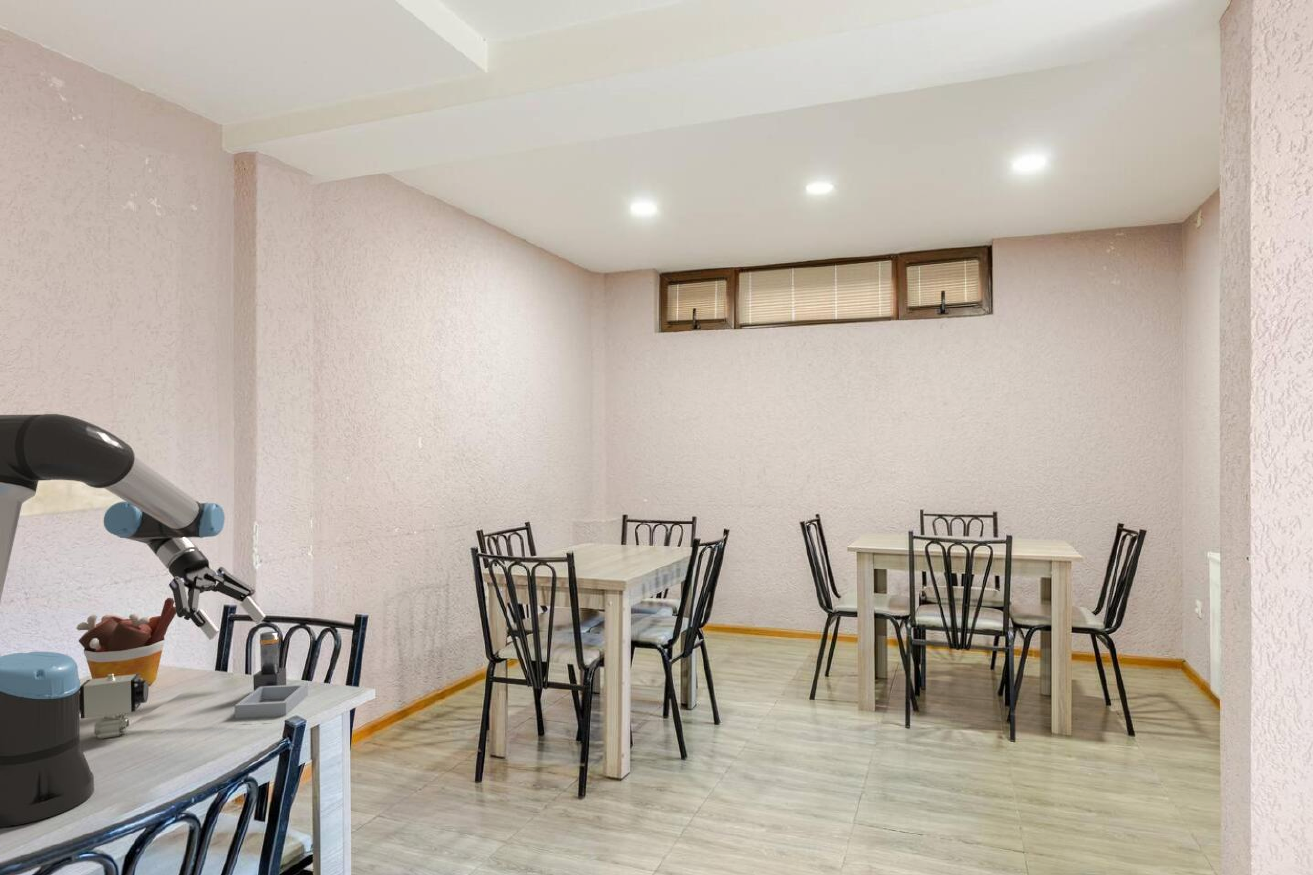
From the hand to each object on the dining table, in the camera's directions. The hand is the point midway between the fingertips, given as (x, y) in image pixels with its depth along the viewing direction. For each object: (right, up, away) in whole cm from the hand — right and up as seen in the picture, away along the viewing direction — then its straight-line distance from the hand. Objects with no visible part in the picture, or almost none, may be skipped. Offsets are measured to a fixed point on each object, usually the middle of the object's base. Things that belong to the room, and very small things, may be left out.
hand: (239, 627), depth 173 cm
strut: (+9, -14, -3) cm, 16 cm away
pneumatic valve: (-13, -16, -22) cm, 30 cm away
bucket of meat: (-30, -16, +8) cm, 35 cm away
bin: (+14, -15, -13) cm, 24 cm away
